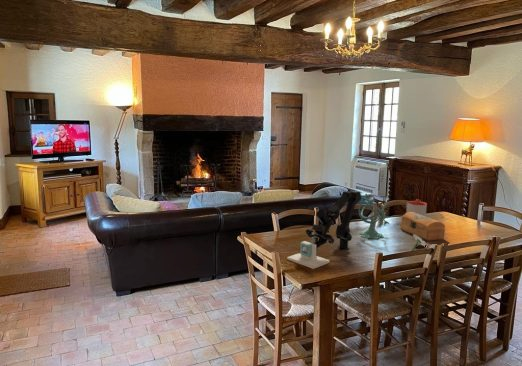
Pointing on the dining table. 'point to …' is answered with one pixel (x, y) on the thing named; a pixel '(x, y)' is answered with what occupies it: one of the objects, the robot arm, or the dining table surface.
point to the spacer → (307, 251)
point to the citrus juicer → (417, 207)
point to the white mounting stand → (309, 258)
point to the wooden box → (422, 226)
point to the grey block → (314, 241)
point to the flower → (419, 240)
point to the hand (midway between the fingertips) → (312, 247)
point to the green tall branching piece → (371, 232)
